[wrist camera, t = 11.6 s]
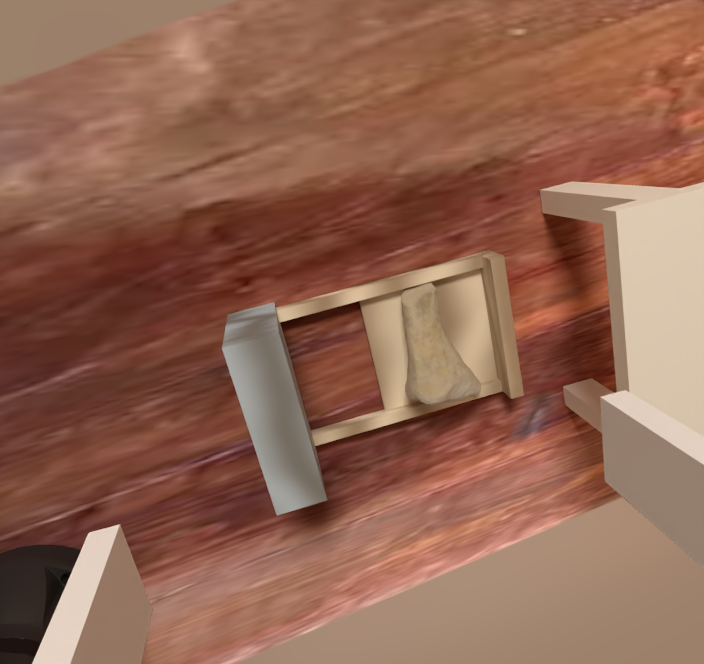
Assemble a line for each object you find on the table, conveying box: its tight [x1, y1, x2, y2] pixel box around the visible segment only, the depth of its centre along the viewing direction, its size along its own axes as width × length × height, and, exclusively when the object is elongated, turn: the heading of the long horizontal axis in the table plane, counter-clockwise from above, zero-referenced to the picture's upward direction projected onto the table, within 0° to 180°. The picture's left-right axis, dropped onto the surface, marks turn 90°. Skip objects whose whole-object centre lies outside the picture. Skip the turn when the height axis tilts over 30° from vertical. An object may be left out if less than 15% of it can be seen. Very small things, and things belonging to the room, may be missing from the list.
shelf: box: [540, 182, 704, 437], centre depth 45 cm, size 8×21×14 cm, turn 13°
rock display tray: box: [222, 250, 524, 515], centre depth 46 cm, size 23×14×9 cm, turn 103°
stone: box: [401, 283, 481, 405], centre depth 48 cm, size 11×6×5 cm, turn 27°
